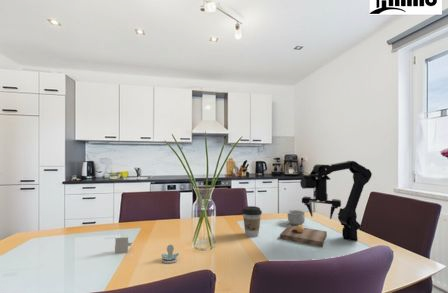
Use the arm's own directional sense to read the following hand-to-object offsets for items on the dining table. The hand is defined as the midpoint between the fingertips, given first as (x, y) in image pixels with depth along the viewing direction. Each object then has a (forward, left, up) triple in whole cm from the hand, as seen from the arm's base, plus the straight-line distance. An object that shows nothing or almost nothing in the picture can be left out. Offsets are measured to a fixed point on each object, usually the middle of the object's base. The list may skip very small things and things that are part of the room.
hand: (321, 217), depth 119 cm
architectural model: (+77, +63, -13) cm, 101 cm away
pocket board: (+9, 0, -12) cm, 15 cm away
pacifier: (+53, +57, -12) cm, 79 cm away
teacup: (+19, -23, -12) cm, 32 cm away
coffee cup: (+35, +11, -12) cm, 39 cm away
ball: (+11, 0, -8) cm, 13 cm away
